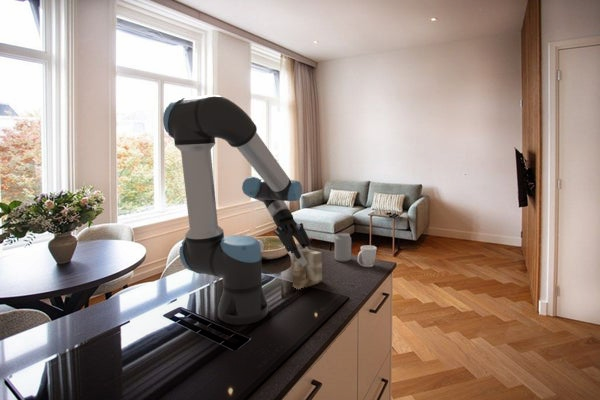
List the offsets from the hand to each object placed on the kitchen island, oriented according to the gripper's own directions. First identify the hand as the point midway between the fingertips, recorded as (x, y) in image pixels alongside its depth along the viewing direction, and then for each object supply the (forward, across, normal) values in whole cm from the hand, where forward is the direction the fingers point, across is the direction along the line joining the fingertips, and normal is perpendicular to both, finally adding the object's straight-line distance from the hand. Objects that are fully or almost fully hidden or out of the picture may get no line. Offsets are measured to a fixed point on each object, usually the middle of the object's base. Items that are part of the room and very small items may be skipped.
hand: (309, 263), depth 123 cm
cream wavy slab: (+3, 0, -4) cm, 5 cm away
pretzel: (-24, -3, -36) cm, 43 cm away
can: (-3, -32, -14) cm, 35 cm away
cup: (+6, -33, -6) cm, 34 cm away
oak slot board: (+5, 0, -6) cm, 8 cm away
